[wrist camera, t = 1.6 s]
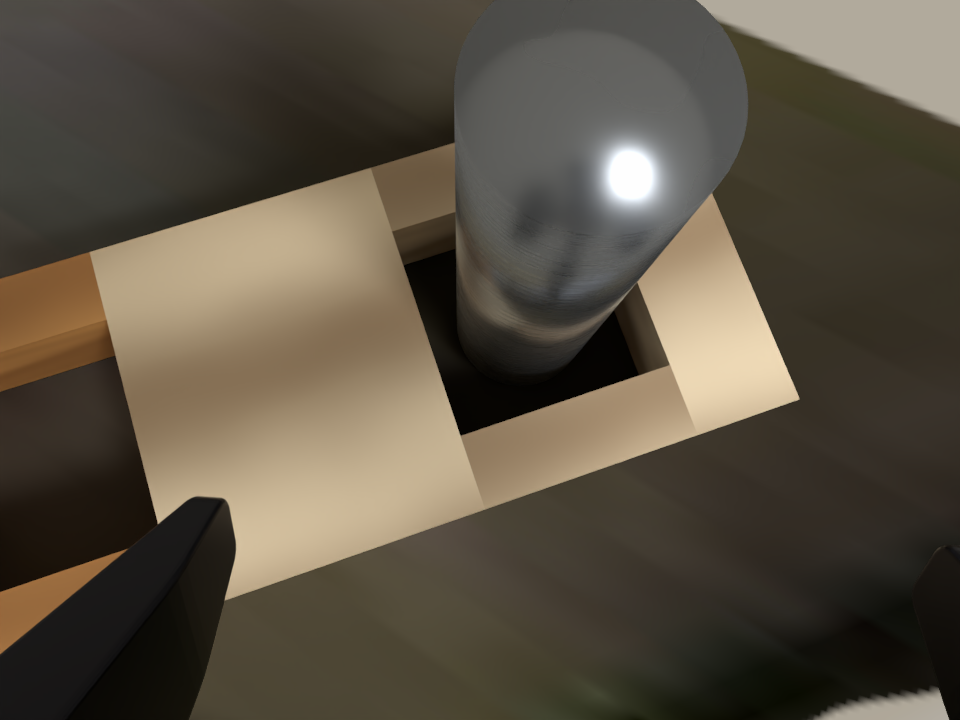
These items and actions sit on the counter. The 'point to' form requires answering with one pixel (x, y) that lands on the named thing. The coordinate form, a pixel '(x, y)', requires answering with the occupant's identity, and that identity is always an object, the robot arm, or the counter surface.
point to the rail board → (357, 371)
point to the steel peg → (579, 164)
